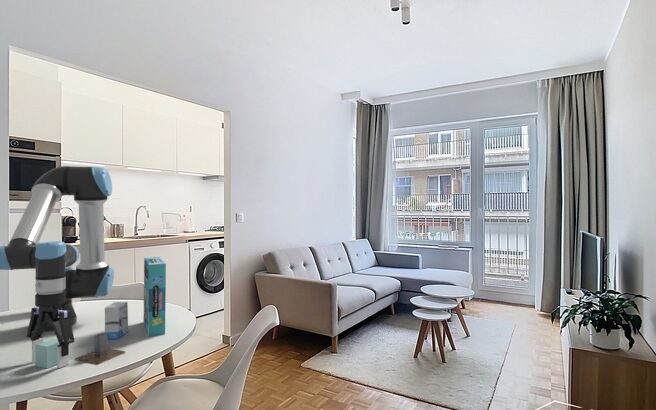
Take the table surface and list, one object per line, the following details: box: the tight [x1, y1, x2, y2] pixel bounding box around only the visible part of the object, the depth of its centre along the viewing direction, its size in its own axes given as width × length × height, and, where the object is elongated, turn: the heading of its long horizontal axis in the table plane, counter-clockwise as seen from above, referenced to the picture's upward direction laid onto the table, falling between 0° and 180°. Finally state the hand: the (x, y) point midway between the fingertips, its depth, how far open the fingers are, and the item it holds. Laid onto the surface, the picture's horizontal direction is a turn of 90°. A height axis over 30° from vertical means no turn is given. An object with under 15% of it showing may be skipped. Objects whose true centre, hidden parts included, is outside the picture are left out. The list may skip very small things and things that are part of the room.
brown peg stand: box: [74, 332, 127, 365], centre depth 123 cm, size 10×10×7 cm
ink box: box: [104, 301, 129, 340], centre depth 142 cm, size 9×5×12 cm, turn 5°
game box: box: [143, 256, 167, 337], centre depth 151 cm, size 20×6×27 cm, turn 30°
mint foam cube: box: [34, 338, 59, 369], centre depth 117 cm, size 5×5×7 cm
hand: (49, 363), depth 116 cm, fingers open, 11 cm apart
